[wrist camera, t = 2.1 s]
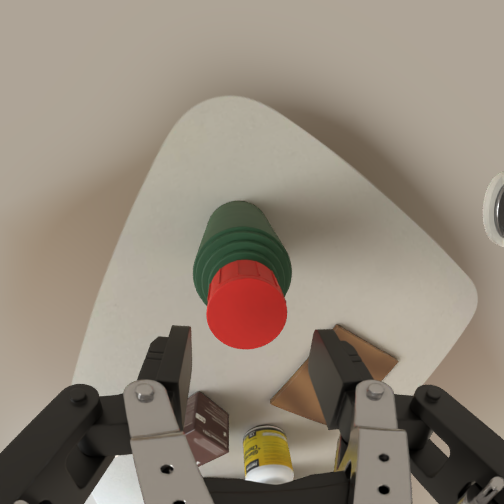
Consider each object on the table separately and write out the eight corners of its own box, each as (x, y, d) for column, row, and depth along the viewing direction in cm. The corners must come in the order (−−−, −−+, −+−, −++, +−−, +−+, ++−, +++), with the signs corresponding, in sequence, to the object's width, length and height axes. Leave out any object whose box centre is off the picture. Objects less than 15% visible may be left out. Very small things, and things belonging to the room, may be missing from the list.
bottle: (228, 188, 32) (226, 222, 14) (280, 222, 33) (334, 291, 16) (195, 240, 33) (160, 327, 16) (246, 272, 34) (262, 380, 17)
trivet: (336, 323, 37) (338, 327, 36) (396, 358, 39) (398, 361, 39) (269, 400, 40) (270, 404, 39) (333, 424, 42) (334, 427, 41)
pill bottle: (261, 417, 40) (269, 482, 29) (294, 432, 42) (308, 492, 31) (233, 440, 42) (236, 502, 30) (266, 453, 43) (274, 511, 32)
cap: (234, 246, 17) (234, 262, 14) (292, 282, 18) (303, 303, 15) (197, 301, 18) (191, 326, 15) (253, 333, 19) (257, 361, 16)
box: (229, 413, 40) (230, 452, 33) (199, 430, 41) (196, 468, 34) (198, 389, 38) (194, 429, 31) (168, 408, 39) (160, 447, 32)
